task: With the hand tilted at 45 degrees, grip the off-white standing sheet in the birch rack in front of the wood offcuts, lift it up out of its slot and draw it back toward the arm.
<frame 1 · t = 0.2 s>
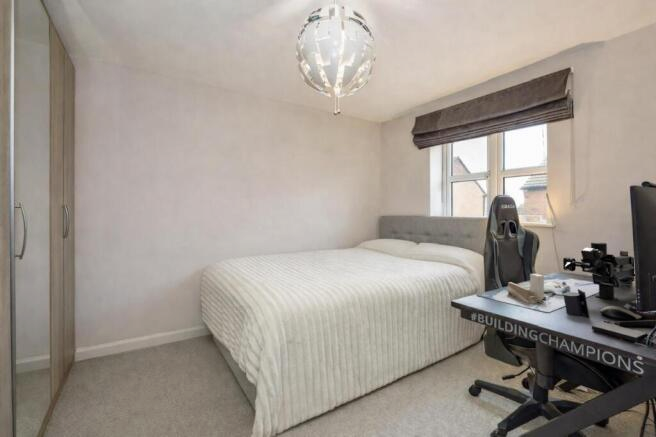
hand: (576, 269, 136), 16 cm above the table, tool horizontal, fingers open, 9 cm apart
speaker: (575, 314, 124), on the table
tall sheet: (536, 298, 147), on the table
offcut stack: (525, 298, 148), resting in rack
rack: (536, 297, 147), on the table
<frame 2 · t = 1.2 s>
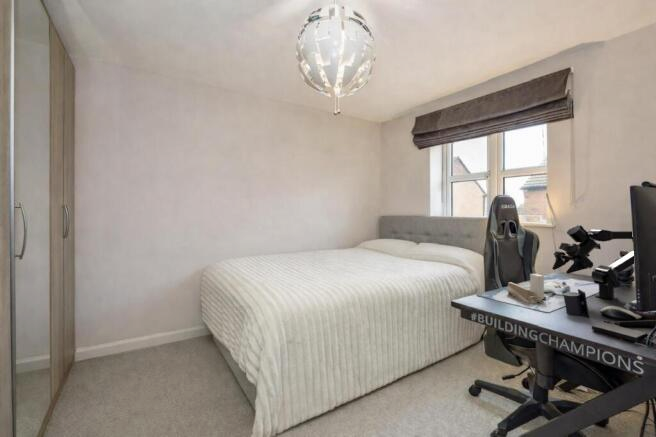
hand: (559, 271, 147), 13 cm above the table, tool tilted 45°, fingers open, 9 cm apart
nothing on the table moved.
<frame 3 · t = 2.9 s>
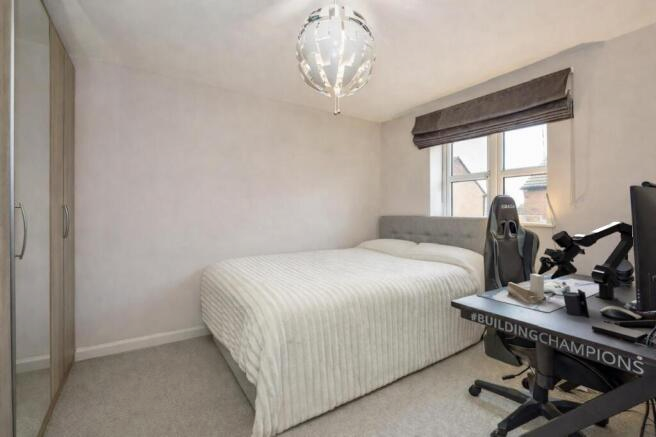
hand: (544, 276, 147), 11 cm above the table, tool tilted 45°, fingers open, 9 cm apart
nothing on the table moved.
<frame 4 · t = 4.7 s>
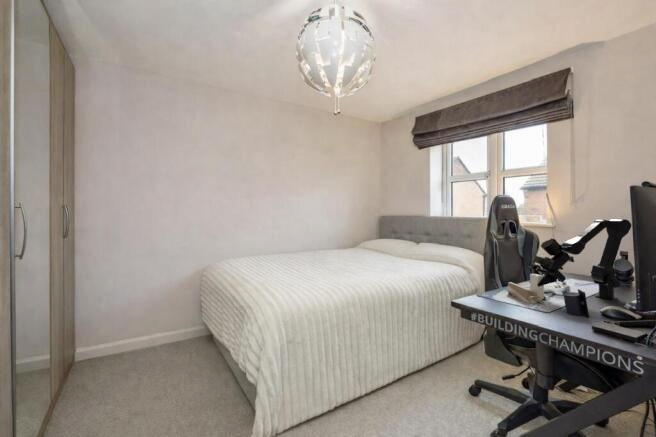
hand: (533, 284, 147), 7 cm above the table, tool tilted 45°, fingers closed on tall sheet, 5 cm apart
tall sheet: (536, 298, 147), on the table, touching gripper
everything else where it was.
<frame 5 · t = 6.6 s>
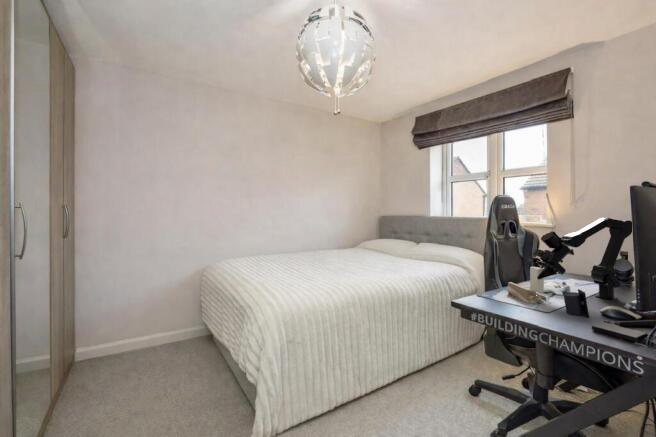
hand: (534, 277, 147), 10 cm above the table, tool tilted 45°, fingers closed on tall sheet, 5 cm apart
tall sheet: (536, 290, 147), point 3 cm above the table, touching gripper
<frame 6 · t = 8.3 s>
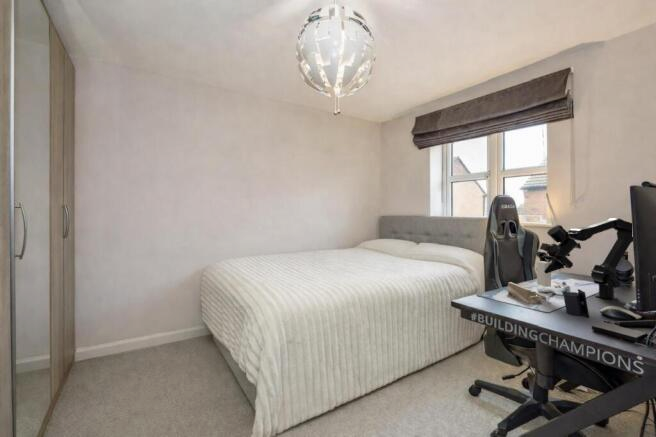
hand: (540, 271, 147), 13 cm above the table, tool tilted 45°, fingers closed on tall sheet, 5 cm apart
tall sheet: (543, 285, 147), point 6 cm above the table, touching gripper
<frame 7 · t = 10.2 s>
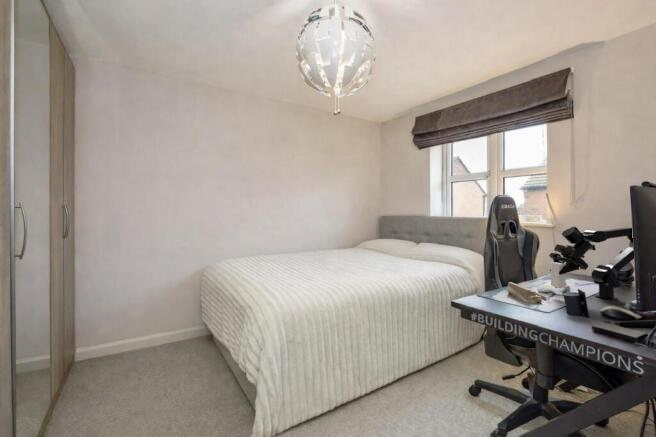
hand: (555, 272, 147), 13 cm above the table, tool tilted 45°, fingers closed on tall sheet, 5 cm apart
tall sheet: (557, 286, 147), point 6 cm above the table, touching gripper
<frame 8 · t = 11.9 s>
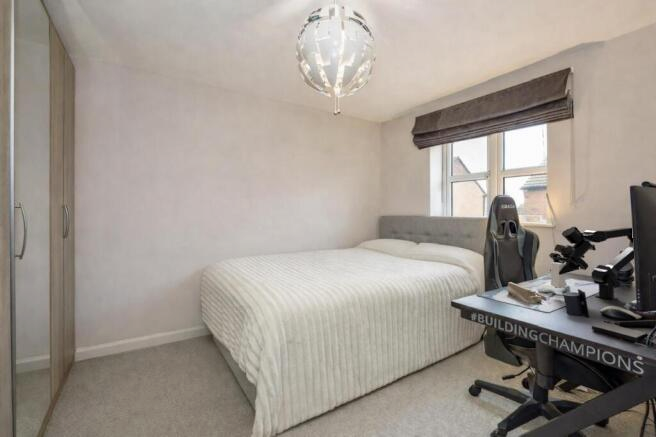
hand: (555, 272, 147), 13 cm above the table, tool tilted 45°, fingers closed on tall sheet, 5 cm apart
tall sheet: (557, 286, 147), point 6 cm above the table, touching gripper
at the end: the gripper is holding tall sheet; tall sheet point 5.7 cm above the table; tall sheet moved 11.6 cm from its start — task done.
